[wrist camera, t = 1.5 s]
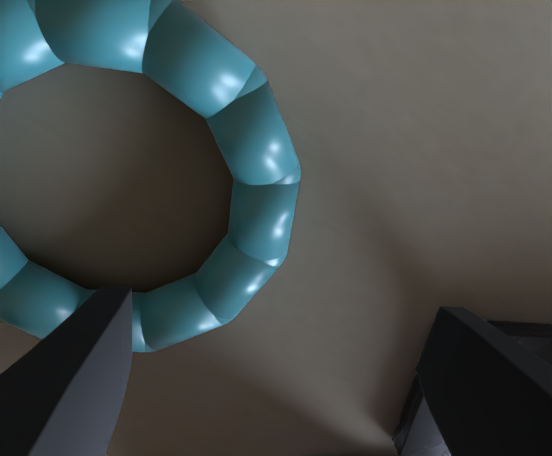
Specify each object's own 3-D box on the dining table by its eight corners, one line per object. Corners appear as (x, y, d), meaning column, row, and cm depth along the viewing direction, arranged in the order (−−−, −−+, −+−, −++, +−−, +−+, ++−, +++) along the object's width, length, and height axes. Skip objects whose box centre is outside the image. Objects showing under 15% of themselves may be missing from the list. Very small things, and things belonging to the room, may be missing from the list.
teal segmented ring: (267, 332, 21) (272, 369, 18) (-44, 316, 18) (-82, 356, 16) (320, 18, 15) (336, 16, 12) (-127, -56, 13) (-204, -74, 10)
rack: (526, 440, 26) (622, 574, 20) (391, 438, 25) (447, 582, 18) (591, 326, 22) (736, 446, 16) (436, 317, 21) (527, 444, 15)
